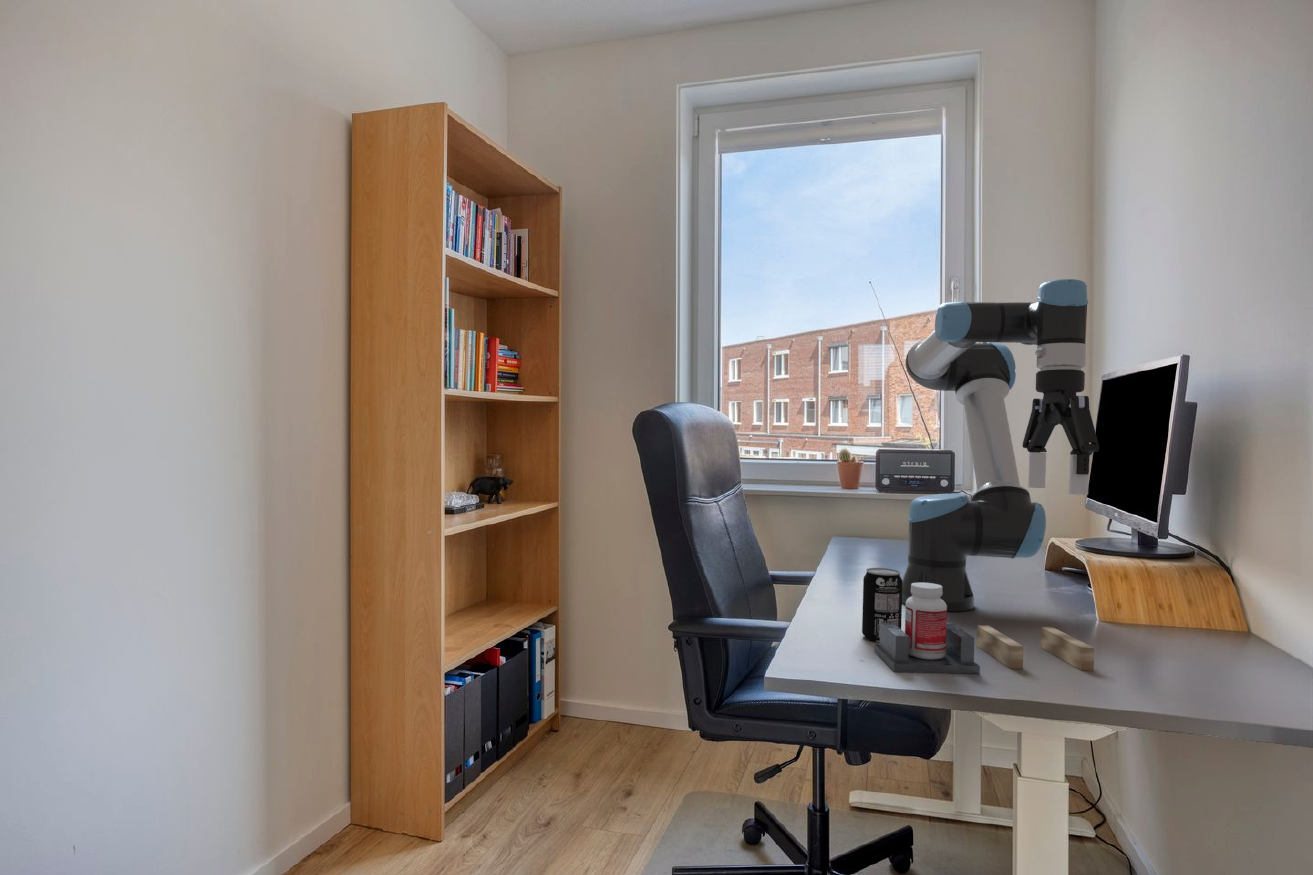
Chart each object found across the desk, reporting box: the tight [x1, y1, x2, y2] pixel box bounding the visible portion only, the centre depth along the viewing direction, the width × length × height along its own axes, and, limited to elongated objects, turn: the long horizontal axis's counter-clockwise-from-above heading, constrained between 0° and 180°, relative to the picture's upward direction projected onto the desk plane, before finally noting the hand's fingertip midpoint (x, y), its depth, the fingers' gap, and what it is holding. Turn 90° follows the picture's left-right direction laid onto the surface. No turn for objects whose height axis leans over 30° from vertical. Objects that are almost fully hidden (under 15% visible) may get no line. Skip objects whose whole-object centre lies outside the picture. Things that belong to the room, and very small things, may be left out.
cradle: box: [874, 622, 981, 675], centre depth 117 cm, size 10×13×5 cm
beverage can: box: [861, 567, 903, 644], centre depth 130 cm, size 7×7×12 cm
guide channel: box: [976, 625, 1095, 671], centre depth 121 cm, size 12×13×4 cm
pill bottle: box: [904, 583, 948, 660], centre depth 117 cm, size 6×6×11 cm
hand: (1056, 491), depth 129 cm, fingers open, 13 cm apart
